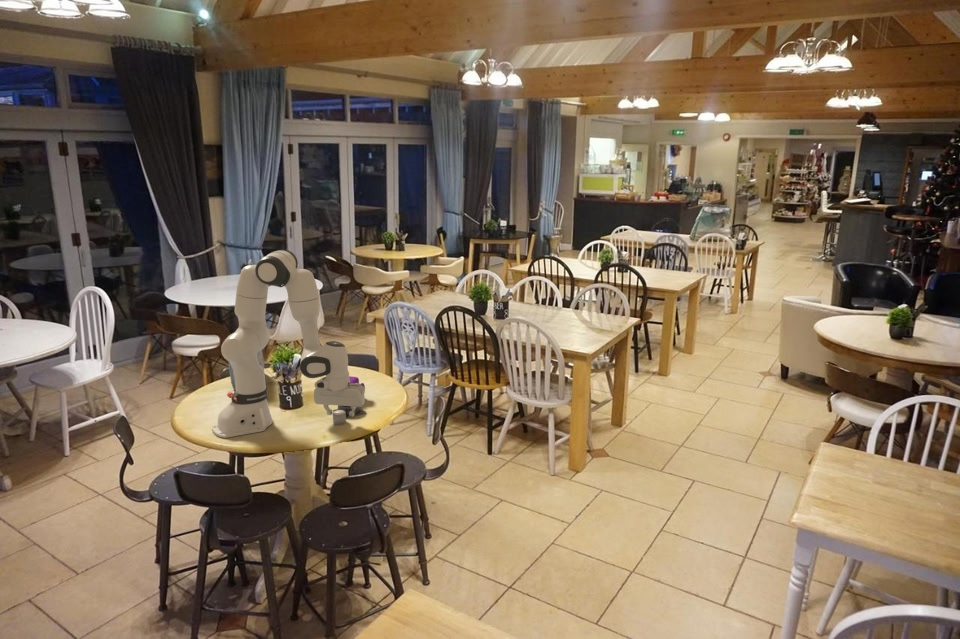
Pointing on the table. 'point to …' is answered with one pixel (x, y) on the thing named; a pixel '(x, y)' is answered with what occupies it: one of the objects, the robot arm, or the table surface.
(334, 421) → the cap
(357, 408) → the grey flanged ring
